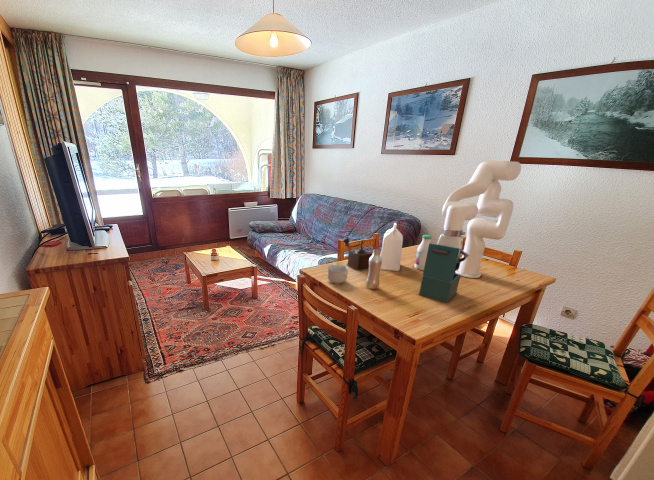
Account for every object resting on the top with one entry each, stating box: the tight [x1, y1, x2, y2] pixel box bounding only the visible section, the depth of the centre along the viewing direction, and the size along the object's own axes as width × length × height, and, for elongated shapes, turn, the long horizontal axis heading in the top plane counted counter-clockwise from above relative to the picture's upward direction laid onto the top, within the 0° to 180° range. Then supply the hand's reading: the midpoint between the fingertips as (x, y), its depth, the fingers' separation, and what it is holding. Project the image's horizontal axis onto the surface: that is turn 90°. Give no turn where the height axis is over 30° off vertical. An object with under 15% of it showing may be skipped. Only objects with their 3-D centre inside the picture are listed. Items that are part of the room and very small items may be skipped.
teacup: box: [326, 263, 349, 284], centre depth 165 cm, size 14×11×8 cm
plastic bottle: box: [365, 248, 382, 290], centre depth 154 cm, size 6×7×20 cm
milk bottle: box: [413, 234, 432, 271], centre depth 181 cm, size 8×8×20 cm
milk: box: [380, 222, 404, 272], centre depth 182 cm, size 12×12×26 cm
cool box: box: [419, 272, 462, 304], centre depth 149 cm, size 15×13×10 cm
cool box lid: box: [422, 242, 460, 282], centre depth 138 cm, size 16×13×5 cm
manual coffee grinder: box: [342, 237, 373, 271], centre depth 183 cm, size 16×11×18 cm
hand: (444, 267), depth 147 cm, fingers open, 9 cm apart
